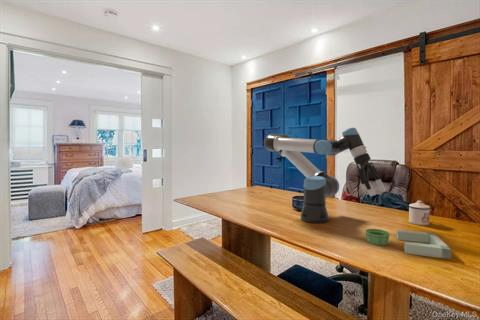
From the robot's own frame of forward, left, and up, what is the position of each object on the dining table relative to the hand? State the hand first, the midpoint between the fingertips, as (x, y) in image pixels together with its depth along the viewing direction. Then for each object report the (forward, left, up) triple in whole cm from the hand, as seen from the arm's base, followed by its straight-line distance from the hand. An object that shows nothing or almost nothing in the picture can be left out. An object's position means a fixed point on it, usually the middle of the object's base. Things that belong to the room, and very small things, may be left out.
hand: (378, 193), depth 127 cm
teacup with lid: (+21, +12, -16) cm, 29 cm away
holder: (+12, -26, -16) cm, 33 cm away
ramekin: (-3, -26, -17) cm, 31 cm away
